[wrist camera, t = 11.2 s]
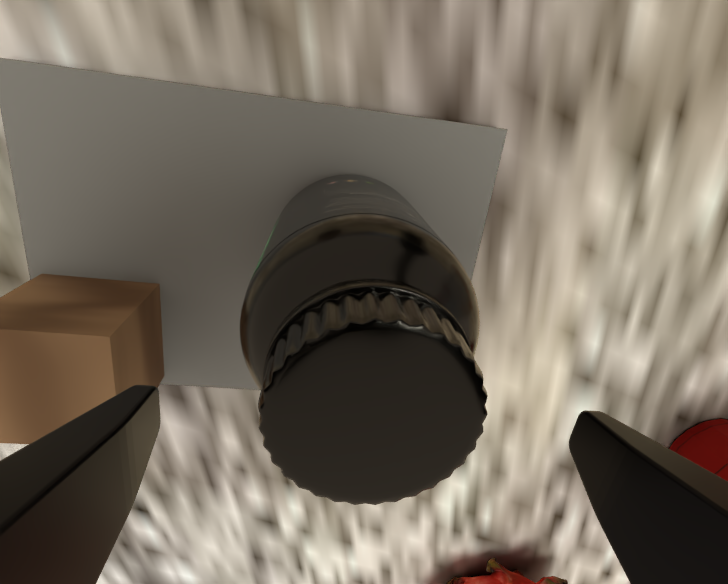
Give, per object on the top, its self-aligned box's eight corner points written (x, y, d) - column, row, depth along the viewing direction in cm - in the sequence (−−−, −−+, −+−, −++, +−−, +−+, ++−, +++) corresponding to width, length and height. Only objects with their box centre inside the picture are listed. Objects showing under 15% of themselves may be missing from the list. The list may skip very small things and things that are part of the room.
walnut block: (159, 283, 20) (109, 336, 15) (164, 375, 22) (121, 447, 17) (41, 273, 19) (-48, 325, 15) (57, 369, 21) (-18, 442, 17)
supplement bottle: (240, 241, 19) (127, 418, 8) (356, 137, 18) (404, 183, 7) (341, 341, 22) (355, 579, 11) (450, 254, 20) (596, 427, 9)
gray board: (497, 128, 20) (507, 129, 18) (437, 387, 25) (442, 400, 24) (13, 59, 17) (-9, 56, 16) (61, 364, 22) (47, 377, 21)
